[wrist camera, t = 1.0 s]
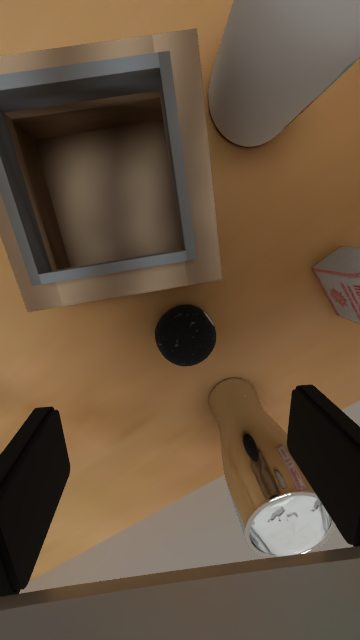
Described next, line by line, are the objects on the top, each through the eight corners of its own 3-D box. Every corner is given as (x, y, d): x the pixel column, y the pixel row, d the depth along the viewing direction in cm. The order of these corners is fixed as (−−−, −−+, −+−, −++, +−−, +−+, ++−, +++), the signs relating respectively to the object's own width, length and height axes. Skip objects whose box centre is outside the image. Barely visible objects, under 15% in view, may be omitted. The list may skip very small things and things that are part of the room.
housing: (183, 109, 22) (202, -6, 12) (202, 268, 26) (229, 284, 16) (24, 132, 22) (-96, 35, 12) (70, 289, 26) (11, 320, 16)
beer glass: (269, 401, 32) (357, 529, 18) (225, 431, 33) (274, 575, 19) (240, 363, 30) (311, 472, 16) (193, 396, 31) (222, 527, 17)
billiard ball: (145, 320, 28) (141, 341, 22) (189, 288, 27) (197, 301, 21) (177, 359, 29) (181, 388, 24) (219, 330, 29) (234, 352, 23)
